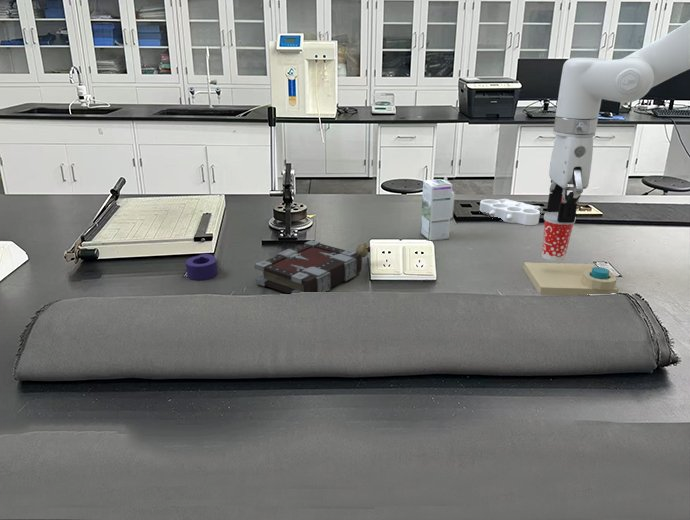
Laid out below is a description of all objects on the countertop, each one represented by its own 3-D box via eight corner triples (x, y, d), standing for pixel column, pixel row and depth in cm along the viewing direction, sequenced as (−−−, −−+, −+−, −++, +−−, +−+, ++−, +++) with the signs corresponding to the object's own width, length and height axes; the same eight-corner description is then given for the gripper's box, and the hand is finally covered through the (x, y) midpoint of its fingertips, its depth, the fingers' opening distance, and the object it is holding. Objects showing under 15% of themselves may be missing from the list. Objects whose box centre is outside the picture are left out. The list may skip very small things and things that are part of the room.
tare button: (604, 274, 108) (605, 266, 107) (610, 280, 105) (612, 273, 104) (588, 273, 108) (589, 266, 107) (594, 280, 105) (595, 272, 104)
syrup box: (449, 239, 136) (454, 183, 130) (428, 241, 134) (432, 185, 129) (439, 232, 141) (443, 178, 135) (419, 234, 139) (422, 179, 134)
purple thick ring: (216, 279, 112) (215, 265, 111) (185, 281, 111) (183, 267, 110) (220, 258, 123) (218, 245, 122) (192, 259, 122) (190, 246, 121)
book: (255, 284, 109) (253, 261, 108) (329, 250, 128) (329, 230, 126) (309, 304, 101) (308, 279, 99) (380, 264, 120) (381, 243, 118)
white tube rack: (552, 218, 153) (526, 229, 143) (497, 205, 165) (470, 214, 155) (554, 206, 151) (528, 217, 142) (498, 194, 163) (471, 203, 154)
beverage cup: (536, 250, 115) (545, 187, 110) (566, 253, 114) (577, 189, 108) (539, 261, 109) (550, 195, 104) (571, 263, 108) (583, 197, 103)
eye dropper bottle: (448, 221, 149) (452, 179, 144) (430, 218, 152) (433, 177, 147) (454, 217, 152) (458, 176, 148) (436, 214, 155) (439, 174, 151)
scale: (592, 271, 117) (595, 256, 116) (618, 298, 104) (621, 282, 103) (523, 269, 118) (525, 254, 116) (540, 296, 105) (543, 280, 104)
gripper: (613, 134, 93) (594, 231, 100) (578, 121, 109) (564, 205, 116) (570, 133, 94) (554, 230, 100) (541, 120, 110) (529, 204, 116)
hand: (560, 216), depth 108 cm, fingers closed on beverage cup, 6 cm apart
